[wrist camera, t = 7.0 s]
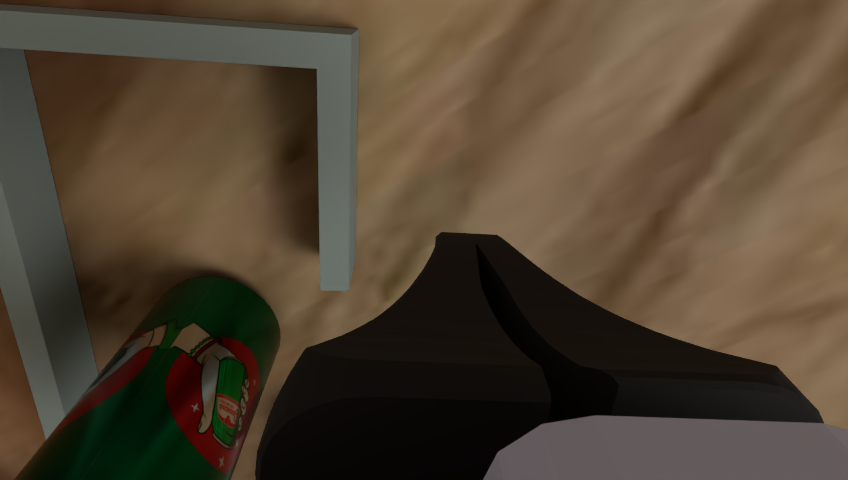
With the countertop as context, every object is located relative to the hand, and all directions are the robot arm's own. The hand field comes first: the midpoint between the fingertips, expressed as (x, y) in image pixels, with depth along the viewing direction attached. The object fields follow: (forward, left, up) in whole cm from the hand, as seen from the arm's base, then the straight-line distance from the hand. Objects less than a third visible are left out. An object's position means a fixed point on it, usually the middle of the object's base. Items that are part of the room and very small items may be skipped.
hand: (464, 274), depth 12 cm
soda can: (-8, +9, -9) cm, 14 cm away
